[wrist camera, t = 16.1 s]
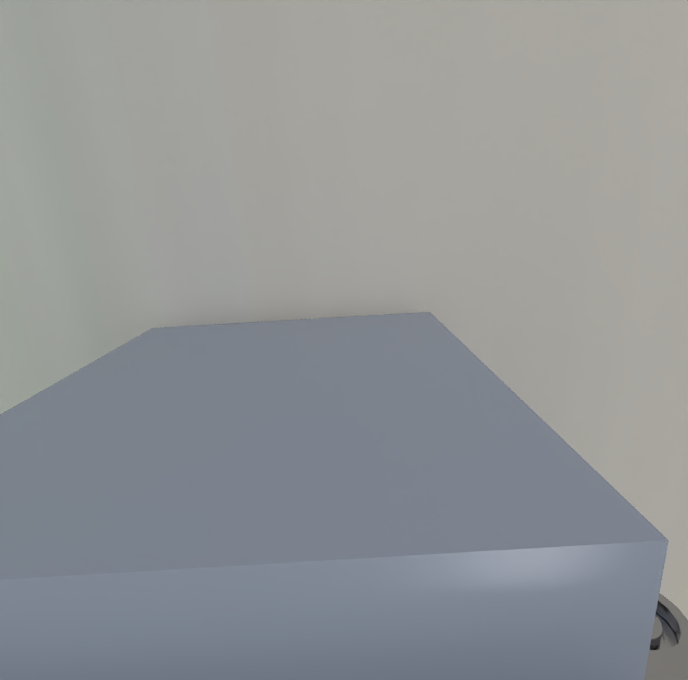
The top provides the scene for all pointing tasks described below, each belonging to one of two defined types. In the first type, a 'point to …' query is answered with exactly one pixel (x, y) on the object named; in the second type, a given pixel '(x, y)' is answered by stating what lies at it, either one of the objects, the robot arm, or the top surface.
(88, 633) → the pale blue-grey cube
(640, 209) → the top surface
